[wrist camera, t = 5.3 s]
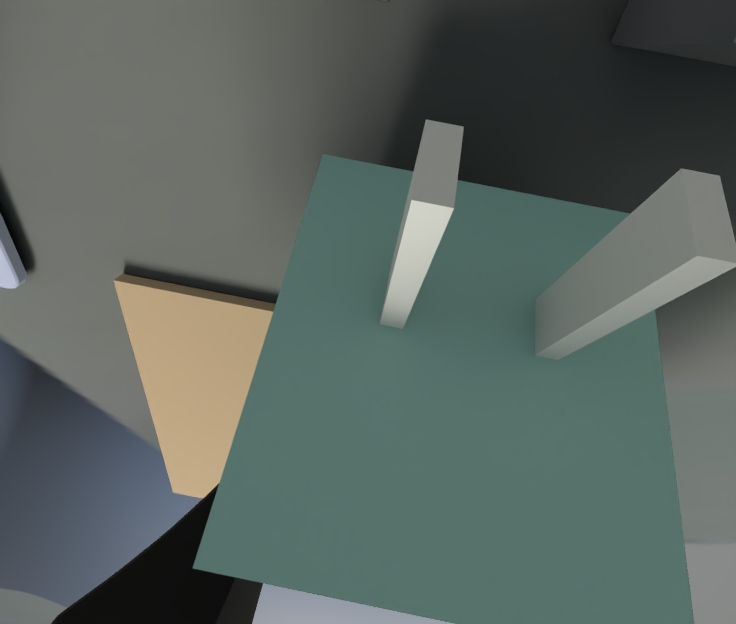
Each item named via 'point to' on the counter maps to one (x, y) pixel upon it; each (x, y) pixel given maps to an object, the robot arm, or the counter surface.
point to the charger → (469, 400)
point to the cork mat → (193, 370)
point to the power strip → (680, 28)
